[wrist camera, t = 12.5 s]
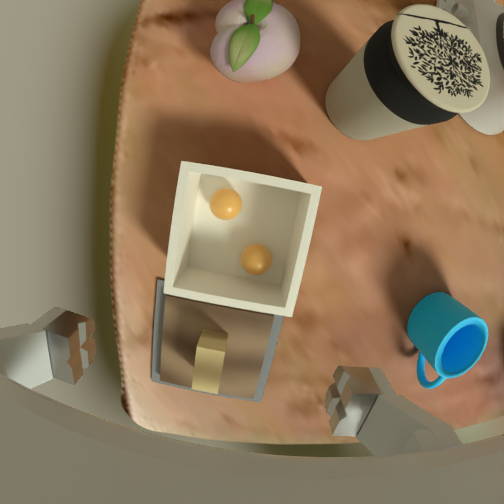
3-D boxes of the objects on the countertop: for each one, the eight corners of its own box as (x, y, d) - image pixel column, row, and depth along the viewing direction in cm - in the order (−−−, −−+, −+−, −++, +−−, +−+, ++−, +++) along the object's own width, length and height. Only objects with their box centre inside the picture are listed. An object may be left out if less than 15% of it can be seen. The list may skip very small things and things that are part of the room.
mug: (419, 287, 35) (452, 313, 27) (463, 296, 35) (497, 319, 28) (387, 367, 38) (410, 404, 30) (432, 369, 38) (456, 401, 30)
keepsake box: (196, 163, 32) (181, 160, 25) (308, 184, 32) (322, 186, 26) (180, 270, 35) (163, 293, 28) (285, 290, 35) (291, 317, 28)
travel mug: (392, 144, 31) (499, 128, 14) (324, 137, 31) (395, 102, 14) (389, 79, 29) (482, 22, 12) (323, 69, 29) (381, -14, 12)
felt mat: (158, 278, 35) (157, 279, 35) (286, 303, 36) (286, 304, 35) (152, 379, 39) (151, 381, 38) (260, 400, 39) (260, 402, 39)
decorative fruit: (290, 100, 30) (303, 71, 21) (213, 92, 30) (196, 61, 20) (297, 27, 28) (311, -18, 18) (224, 20, 28) (214, -27, 18)
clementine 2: (244, 238, 33) (242, 244, 30) (273, 243, 33) (275, 251, 30) (238, 267, 34) (237, 276, 31) (267, 272, 34) (269, 282, 31)
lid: (167, 292, 35) (155, 310, 30) (273, 312, 36) (276, 333, 31) (161, 376, 38) (151, 399, 33) (253, 394, 39) (253, 419, 34)
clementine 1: (214, 184, 32) (210, 185, 29) (245, 190, 32) (244, 191, 29) (209, 214, 33) (204, 219, 30) (239, 220, 33) (237, 225, 30)
